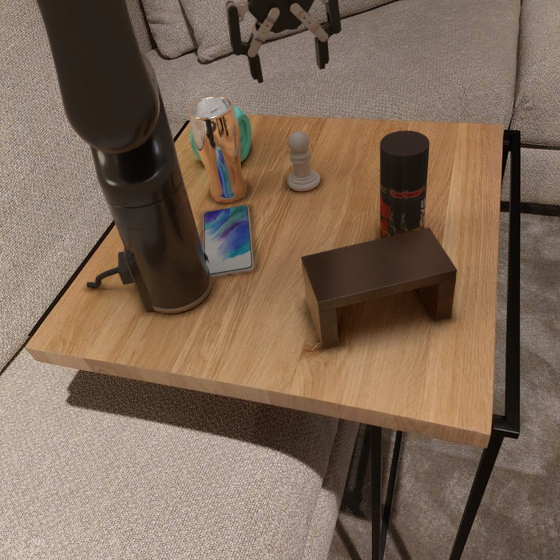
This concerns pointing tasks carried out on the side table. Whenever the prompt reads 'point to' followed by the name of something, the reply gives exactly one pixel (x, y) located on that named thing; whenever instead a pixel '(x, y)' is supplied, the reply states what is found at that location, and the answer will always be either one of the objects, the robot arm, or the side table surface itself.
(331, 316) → the shelf
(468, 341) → the side table surface
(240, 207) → the smartphone
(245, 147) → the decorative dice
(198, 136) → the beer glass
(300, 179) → the chess piece
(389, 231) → the deodorant
